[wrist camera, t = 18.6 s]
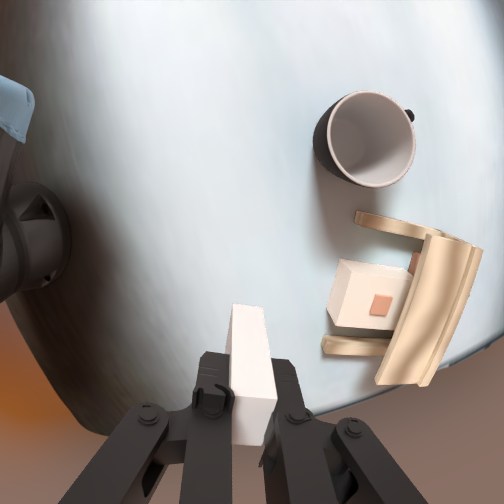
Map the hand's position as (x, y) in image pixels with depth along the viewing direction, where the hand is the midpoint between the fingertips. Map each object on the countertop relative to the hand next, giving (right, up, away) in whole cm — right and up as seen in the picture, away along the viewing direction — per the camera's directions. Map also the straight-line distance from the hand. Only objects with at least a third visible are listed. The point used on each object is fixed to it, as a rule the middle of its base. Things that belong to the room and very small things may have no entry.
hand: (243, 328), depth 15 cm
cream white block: (+16, -1, +24) cm, 28 cm away
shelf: (+18, -1, +23) cm, 29 cm away
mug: (+12, +17, +18) cm, 28 cm away
